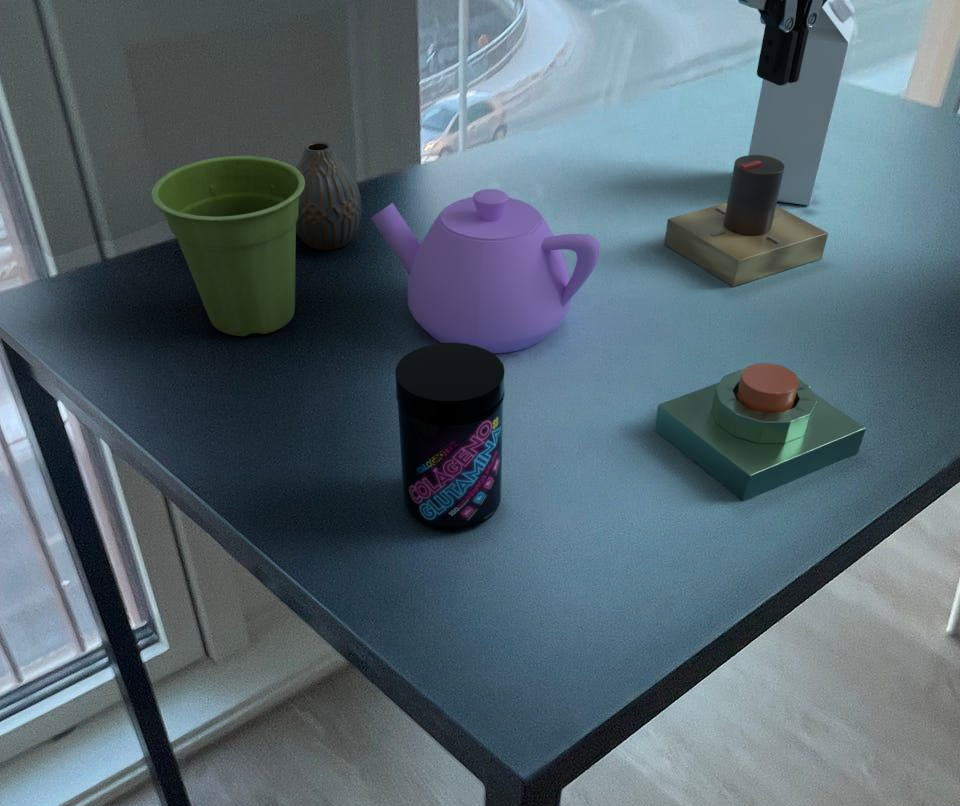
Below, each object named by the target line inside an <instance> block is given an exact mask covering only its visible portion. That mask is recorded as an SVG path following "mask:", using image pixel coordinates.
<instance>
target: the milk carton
mask: <svg viewBox="0 0 960 806" xmlns="http://www.w3.org/2000/svg"><path fill="white" fill-rule="evenodd" d="M855 13H856V10H855V7H854V5H853V3H852V2H851V0H827V1H826V3H825V4H824V5H823V7H822V8H821V10H820V13H819V16H818V20H817V22H816V24H815V25H814V26H813V27H812V28H808V29H809V33H808V37H807V42H806V47H805V51H804V56H803V61H802V65H801V70H800V75H799V79H798V81H797V82H794V83H789V82H787V84H785V85H781V86H779V85H776V84H774V83H772V82H769V81H767V80H765V79H762V82H761V87H760V91H759V92H760V93H759V98H758V102H757V107H756V108H757V109H756V113H755V119H754V124H753V129H752V135H751V139H750V143H749V144H750V145H749V149H748V155H762V156H768V157H772V158H775V159H777V160H779V161H781V162H782V163H783V164H784V172H783V177H782V181H781V186H780V190H779V195H778V200H777V202H781V203H787V204H796V205H803V206H811V204H812V200H813V195H814V193H815V188H816V184H817V179H818V176H819V171H820V167H821V164H822V159H823V156H824V155H823V154H824V151H825V146H826V143H827V138H828V134H829V131H830V125H831V121H832V118H833V113H834V111H835V110H834V109H835V105H836V102H837V97H838V94H839V89H840V85H841V82H842V76H843V71H844V69H845V64H846V60H847V56H848V53H849V48H850V44H851V40H852V36H853V33H854V27H855V21H854V19H853V17H852V16H853V15H854V14H855Z"/></svg>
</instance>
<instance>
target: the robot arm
mask: <svg viewBox="0 0 960 806" xmlns="http://www.w3.org/2000/svg"><path fill="white" fill-rule="evenodd" d="M737 1H738V3H739V4H740V5H743V6H746V7H749V8H751V9H756V10H757V11H758V13H759V15H760V16H759V21H760V24H762V25H764V31H763V36H762V42H761V46H760V53H759V58H758V64H757V69H756V76H757V77H758V78H760V79H762V80H763V79H765V80H767V81H769V82H772V83H774V84H776V85H779V86H781V85H785V84H787V82H789V83H794V82H797V81H798V79H799V75H800V70H801V65H802V61H803V56H804V51H805V47H806V42H807V37H808V33H809V29H808V28H812V27H813V26H814V25H815V24H816V22H817V20H818V16H819V13H820V10H821V8H822V7H823V5H824V4H825V3H826V1H827V0H737Z"/></svg>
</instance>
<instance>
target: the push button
mask: <svg viewBox="0 0 960 806" xmlns="http://www.w3.org/2000/svg"><path fill="white" fill-rule="evenodd" d="M743 369H744V370H743V372H742V374H741V378H740V383H739V387H738V392H737V400H738V401H739V402H740V403H742V404H743V405H745V406H746V407H747V408H750V409H754V410H757V411H761V412H764V413H766V412H784V411H787V410H789V409H791V408H792V406H793V404H794V400H795V397H796V393H797V389H798V385H799V380H800V378H799V377H798V375H797V374H796V373H795V372H794V371H792V370H791V369H790V368H788V367H785V366H783V365H779V364H775V363H769V362H766V363H765V362H762V363H761V362H760V363H754V364H751V365H748V366H747V367H745V368H743Z"/></svg>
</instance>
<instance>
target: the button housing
mask: <svg viewBox="0 0 960 806" xmlns="http://www.w3.org/2000/svg"><path fill="white" fill-rule="evenodd" d="M744 369H745V368H743V369H739V370H736V371H733V372H731V373H729V374H725V375H723V377H722V378H721V379H720V381H719V382H717V383H714V384H711V385H707V386H705V387H703V388H700V389H698V390H694V391H692V392H689V393H686V394H684V395H681V396H678V397H675V398H673V399H670V400H667V401H664V402H661V403H659V404H658V405H657V410H656V416H655V423H654V430H655V431H656V432H657V433H658V434H659V435H660V436H661V437H663V438H664V439H666V440H667V441H668V442H669V443H671V444H672V445H673V446H674V447H676V448H677V449H678V450H680V451H681V452H682V453H683V454H684V455H686V456H687V457H688V458H689V459H690V460H692V462H694V463H696V464H697V465H698V466H699V467H701V468H702V469H703V470H705V472H707V473H708V474H709V475H711V477H713V478H715V480H717V481H718V482H720V484H722V485H723V486H724V487H726V488H727V489H728V490H730V491H731V492H732V493H733V494H734V495H735V496H737V497H739V499H741V500H742V501H743V502H745V501H747V500H750V499H752V498H754V497H757V496H760V495H761V494H763V493H766V492H769V491H771V490H773V489H775V488H778V487H780V486H782V485H785V484H788V483H790V482H793V481H795V480H796V479H799V478H801V477H804V476H806V475H808V474H811V473H814V472H815V471H819V470H821V469H823V468H825V467H827V466H830V465H833V464H834V463H837V462H839V461H841V460H842V461H843V460H844V459H846V458H849V457H851V456H853V455H856V454H858V453H859V451H860V448H861V444H862V443H863V439H864V435H865V433H866V430H867V427H866V426H864V425H863V424H862V423H860V422H859V421H857V420H855V419H854V418H852V417H851V416H849V415H848V414H847V413H845V412H843V411H842V410H841V409H839V408H837V406H834V405H833V404H832V403H830V402H829V401H827V400H825V399H824V398H822V397H821V396H819V395H818V394H816V393H815V392H814V391H813V389H812V387H811V386H810V385H809V384H807V383H806V382H804V381H802V380H801V379H799V385H798V389H797V393H796V397H795V400H794V404H793V406H792V408H791V409H789V410H787V411H784V412H766V413H764V412H761V411H757V410H754V409H750V408H747V407H746V406H745V405H743V404H742V403H740V402H739V401H738V400H737V392H738V387H739V383H740V378H741V374H742V372H743V370H744Z"/></svg>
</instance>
